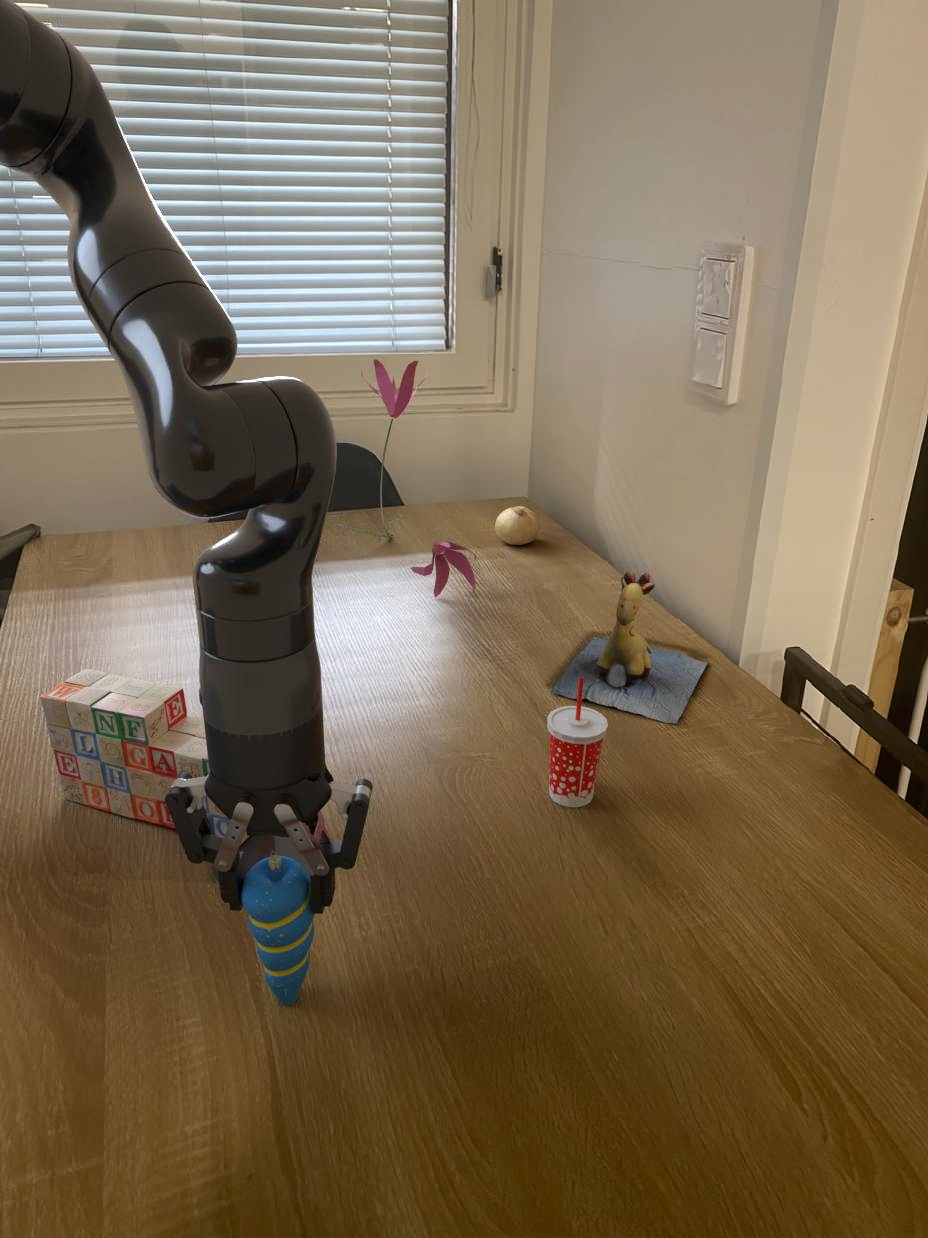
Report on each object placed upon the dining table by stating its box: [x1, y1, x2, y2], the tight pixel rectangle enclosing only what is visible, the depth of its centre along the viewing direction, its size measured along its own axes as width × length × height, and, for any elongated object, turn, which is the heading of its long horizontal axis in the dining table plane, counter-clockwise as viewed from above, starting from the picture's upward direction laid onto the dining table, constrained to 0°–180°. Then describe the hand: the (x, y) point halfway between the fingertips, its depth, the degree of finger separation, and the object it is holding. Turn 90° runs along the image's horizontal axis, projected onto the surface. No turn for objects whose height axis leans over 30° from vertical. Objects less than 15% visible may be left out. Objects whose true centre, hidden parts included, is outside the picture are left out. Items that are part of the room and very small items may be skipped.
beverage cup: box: [546, 676, 609, 808], centre depth 93 cm, size 6×6×14 cm
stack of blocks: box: [39, 668, 249, 845], centre depth 89 cm, size 21×6×12 cm, turn 69°
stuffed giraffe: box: [550, 570, 708, 724], centre depth 116 cm, size 16×18×16 cm
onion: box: [494, 505, 540, 546], centre depth 163 cm, size 8×8×7 cm
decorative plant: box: [324, 359, 477, 599], centre depth 149 cm, size 38×42×30 cm
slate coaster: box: [212, 834, 312, 884], centre depth 84 cm, size 10×10×1 cm
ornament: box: [241, 851, 316, 1006], centre depth 67 cm, size 5×5×15 cm
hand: (279, 903), depth 65 cm, fingers closed on ornament, 5 cm apart
